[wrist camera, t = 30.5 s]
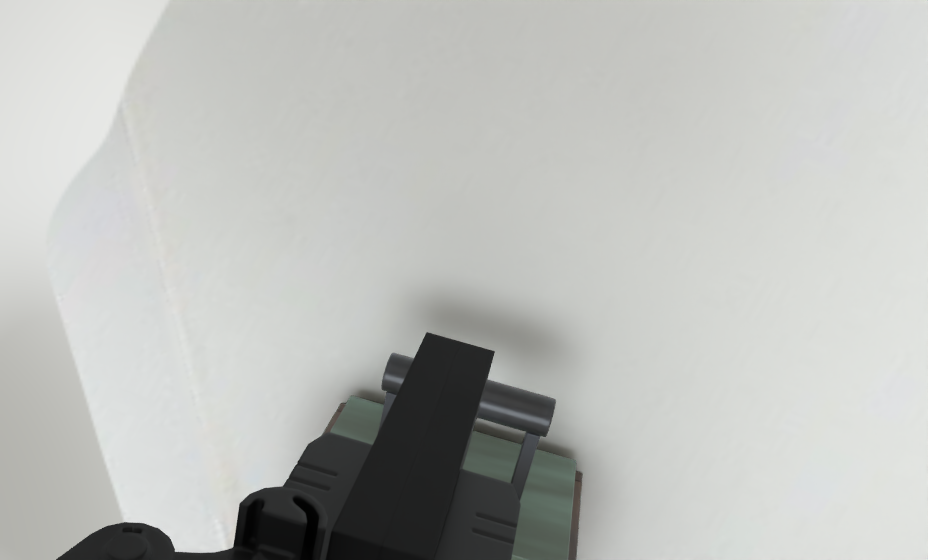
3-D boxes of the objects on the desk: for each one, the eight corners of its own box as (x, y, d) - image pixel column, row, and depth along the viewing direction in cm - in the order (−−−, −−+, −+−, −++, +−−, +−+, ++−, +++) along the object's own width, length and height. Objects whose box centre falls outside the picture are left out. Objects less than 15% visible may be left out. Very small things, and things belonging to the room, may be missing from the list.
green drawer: (371, 293, 40) (316, 374, 33) (610, 361, 39) (607, 458, 32) (310, 597, 48) (256, 715, 41) (509, 658, 47) (489, 790, 40)
